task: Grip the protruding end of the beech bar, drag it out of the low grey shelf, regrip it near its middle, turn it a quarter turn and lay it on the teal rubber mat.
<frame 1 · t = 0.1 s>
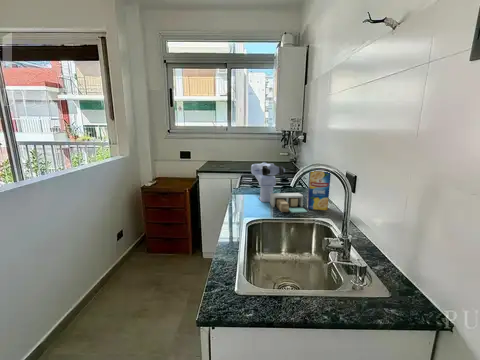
hand: (276, 171, 146), 22 cm above the worktop, tool horizontal, fingers open, 7 cm apart
teal mat: (297, 210, 150), on the worktop
beech bar: (281, 208, 153), on the worktop
beverage box: (316, 208, 156), on the worktop
shelf: (286, 205, 160), on the worktop
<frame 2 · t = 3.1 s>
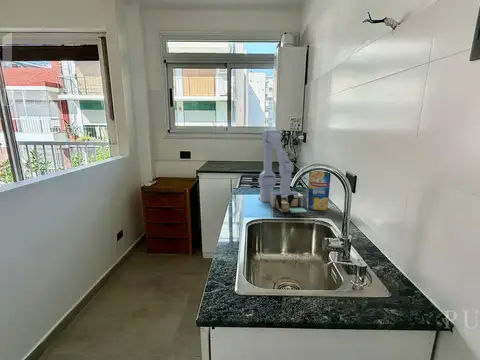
hand: (284, 208, 149), 1 cm above the worktop, tool pointing down, fingers closed on beech bar, 4 cm apart
beech bar: (281, 208, 153), on the worktop, touching gripper
everything else where it was.
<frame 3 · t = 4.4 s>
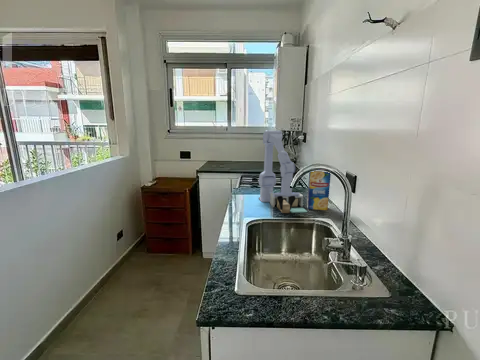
hand: (285, 209, 147), 1 cm above the worktop, tool pointing down, fingers closed on beech bar, 4 cm apart
beech bar: (282, 209, 151), on the worktop, touching gripper
everything else where it was.
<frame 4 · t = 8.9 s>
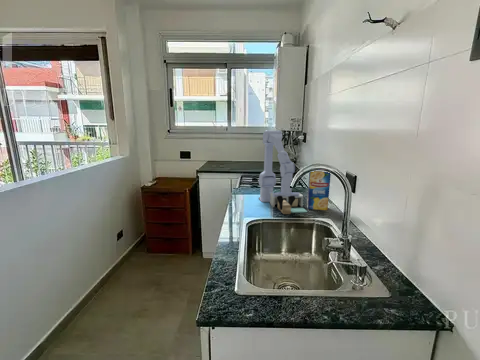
hand: (285, 209, 147), 1 cm above the worktop, tool pointing down, fingers closed on beech bar, 4 cm apart
beech bar: (283, 210, 150), on the worktop, touching gripper
everything else where it was.
when the fingers open (3 cm above the worktop, at t = 12.3 s): beech bar stays where it is, resting on teal mat.
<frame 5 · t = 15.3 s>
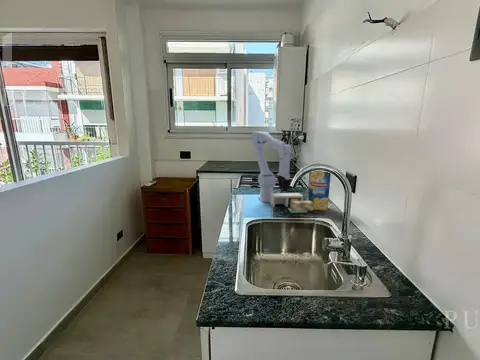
hand: (283, 189, 154), 10 cm above the worktop, tool pointing down, fingers open, 7 cm apart
beech bar: (301, 209, 150), point 1 cm above the worktop, touching teal mat
everything else where it was.
at the end: beech bar inside the target area (2.4 cm from its centre), point 0.6 cm above the worktop; beech bar tilted 0°; beech bar moved 10.9 cm from its start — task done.
